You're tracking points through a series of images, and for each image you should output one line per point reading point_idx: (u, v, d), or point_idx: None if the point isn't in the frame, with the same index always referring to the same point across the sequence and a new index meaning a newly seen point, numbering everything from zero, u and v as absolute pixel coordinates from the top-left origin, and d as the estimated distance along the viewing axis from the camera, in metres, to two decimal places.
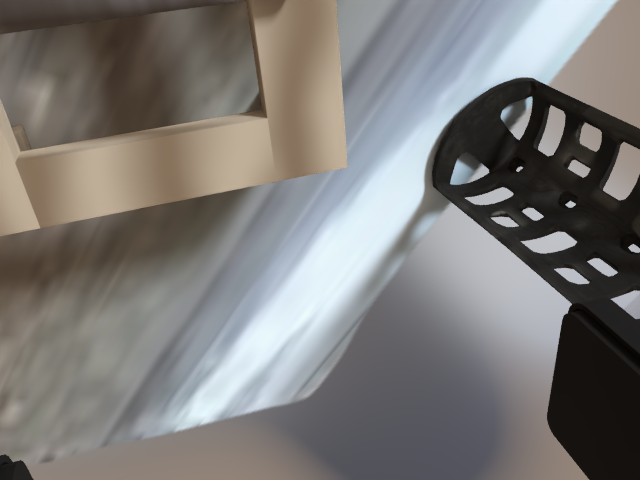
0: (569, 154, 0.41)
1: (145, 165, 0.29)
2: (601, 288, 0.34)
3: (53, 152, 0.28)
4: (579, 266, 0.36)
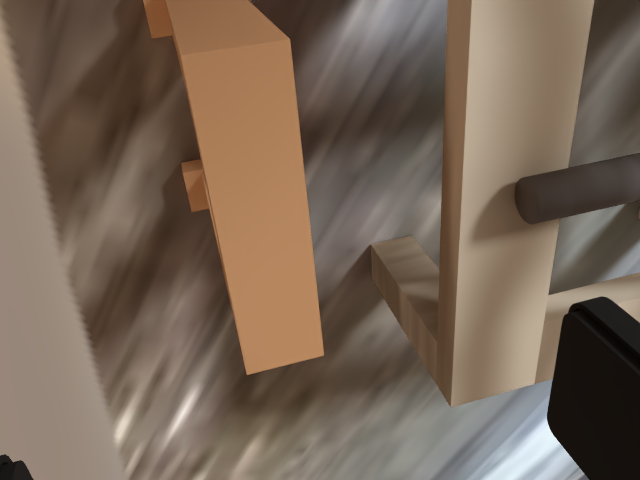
0: None
1: None
2: None
3: None
4: None
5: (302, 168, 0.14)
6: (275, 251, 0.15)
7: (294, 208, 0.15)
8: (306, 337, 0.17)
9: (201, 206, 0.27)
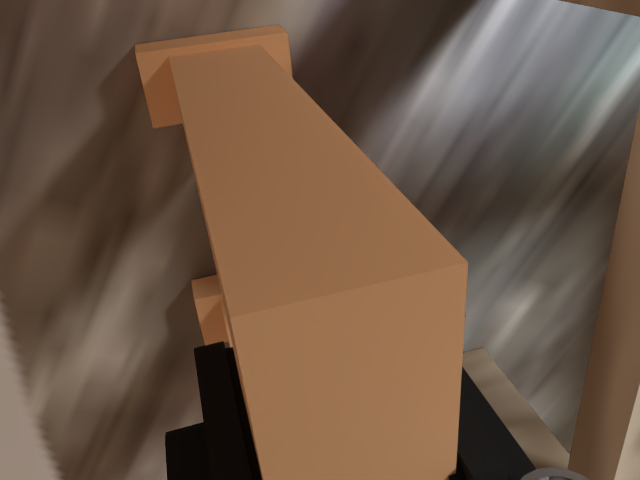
0: None
1: None
2: None
3: None
4: None
5: (452, 467, 0.07)
6: None
7: None
8: None
9: (218, 339, 0.20)
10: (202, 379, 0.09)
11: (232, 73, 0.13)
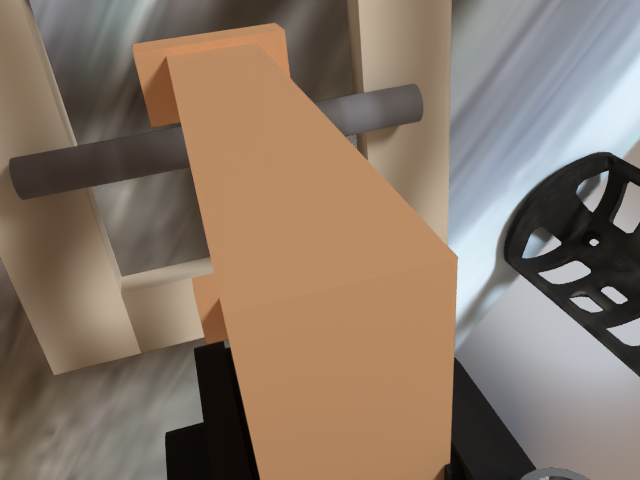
0: None
1: None
2: None
3: (157, 280, 0.27)
4: None
5: (446, 459, 0.07)
6: None
7: None
8: None
9: (219, 336, 0.20)
10: (202, 379, 0.09)
11: (229, 72, 0.13)
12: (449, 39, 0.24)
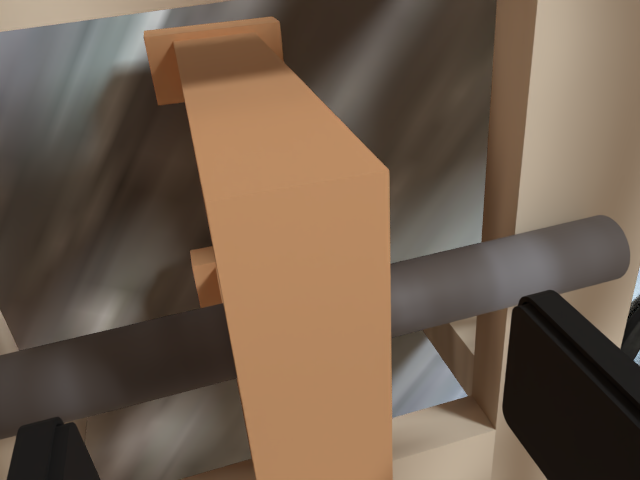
0: None
1: None
2: None
3: None
4: None
5: (388, 354, 0.09)
6: (338, 465, 0.10)
7: (370, 407, 0.10)
8: None
9: None
10: (13, 469, 0.08)
11: (228, 53, 0.15)
12: None
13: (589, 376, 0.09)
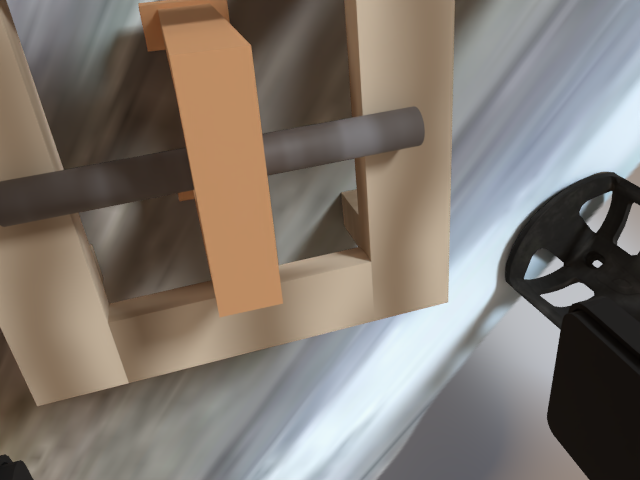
0: None
1: (242, 315, 0.27)
2: None
3: (146, 307, 0.26)
4: None
5: (262, 145, 0.19)
6: (242, 211, 0.20)
7: (256, 176, 0.19)
8: (268, 286, 0.21)
9: (188, 196, 0.31)
10: None
11: (190, 13, 0.24)
12: (452, 60, 0.24)
13: None
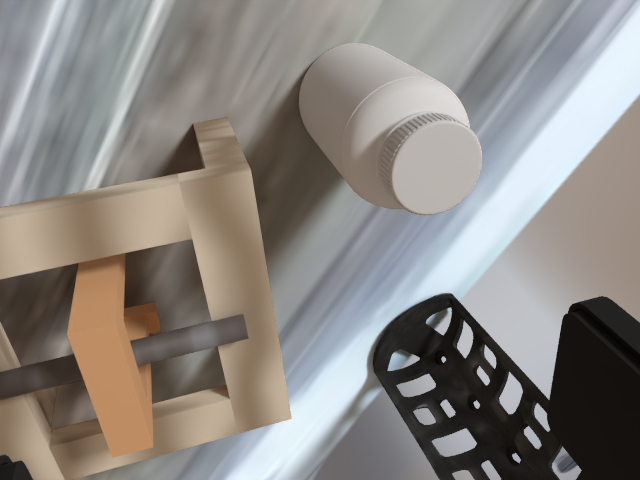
0: (476, 362, 0.52)
1: None
2: None
3: (75, 434, 0.39)
4: (474, 470, 0.47)
5: (128, 369, 0.32)
6: (120, 402, 0.33)
7: (127, 384, 0.32)
8: (142, 439, 0.34)
9: None
10: None
11: None
12: (268, 284, 0.36)
13: None
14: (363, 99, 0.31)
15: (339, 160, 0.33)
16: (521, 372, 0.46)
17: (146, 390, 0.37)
